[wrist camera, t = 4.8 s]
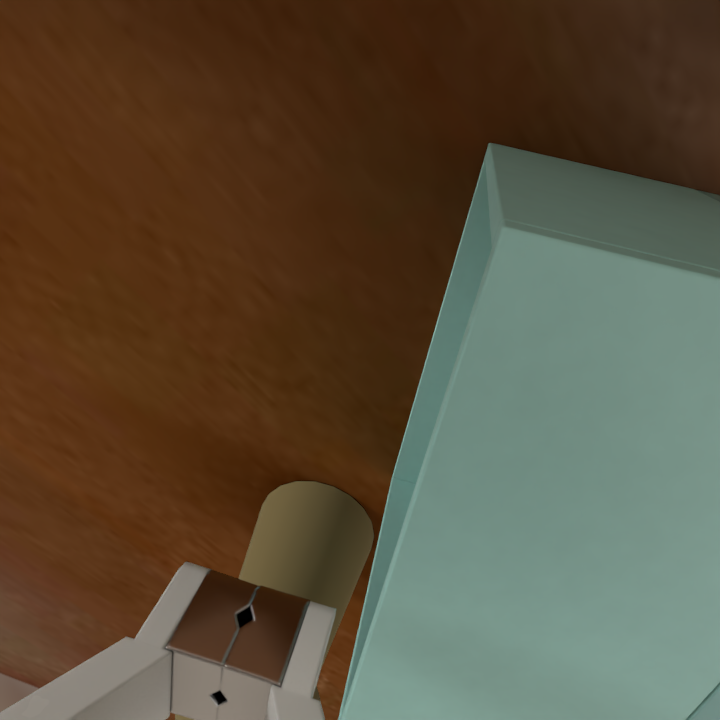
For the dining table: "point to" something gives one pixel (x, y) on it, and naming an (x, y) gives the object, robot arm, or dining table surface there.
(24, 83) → the dining table surface
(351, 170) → the dining table surface
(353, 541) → the cork
